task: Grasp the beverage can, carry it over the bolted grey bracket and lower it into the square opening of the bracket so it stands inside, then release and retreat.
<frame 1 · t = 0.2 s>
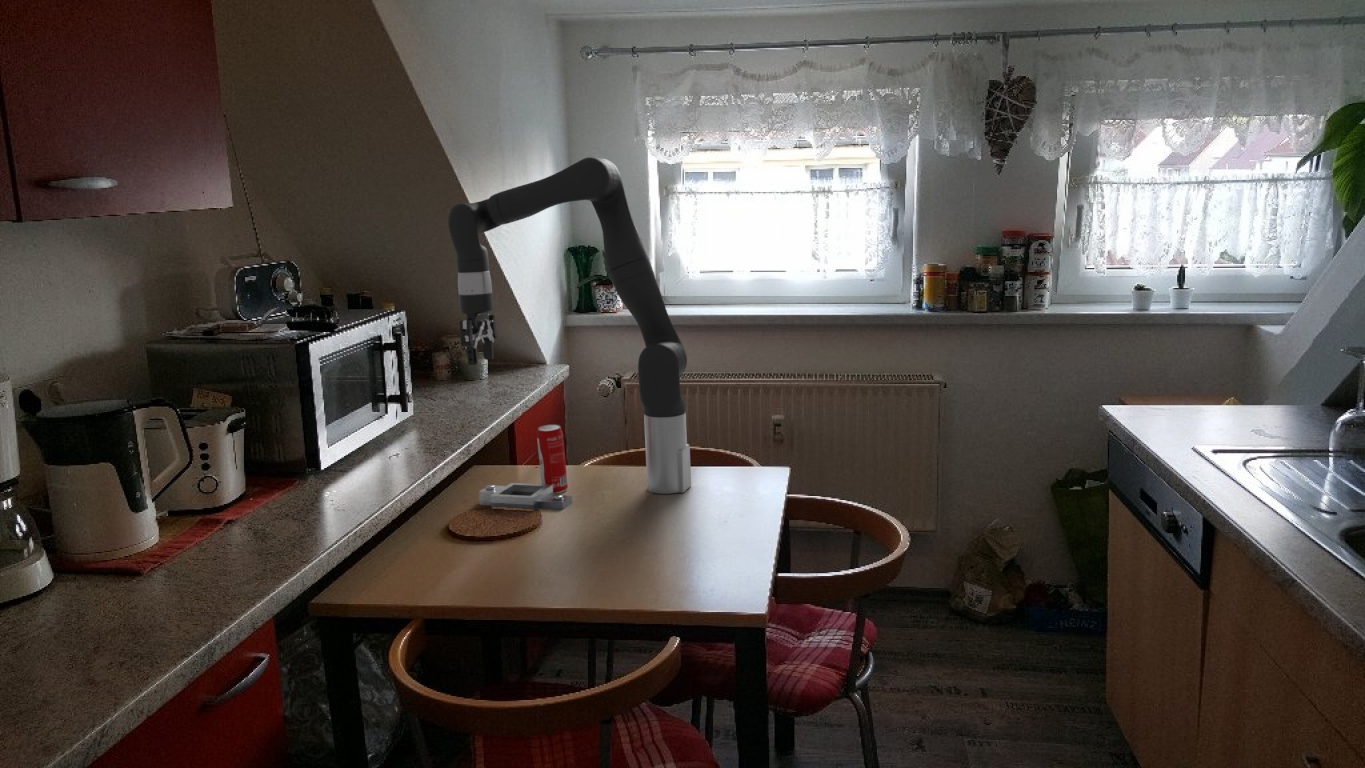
hand: (481, 361, 225), 28 cm above the table, fingers open, 8 cm apart
beverage can: (554, 492, 220), on the table
bolted grey bracket: (522, 503, 211), on the table
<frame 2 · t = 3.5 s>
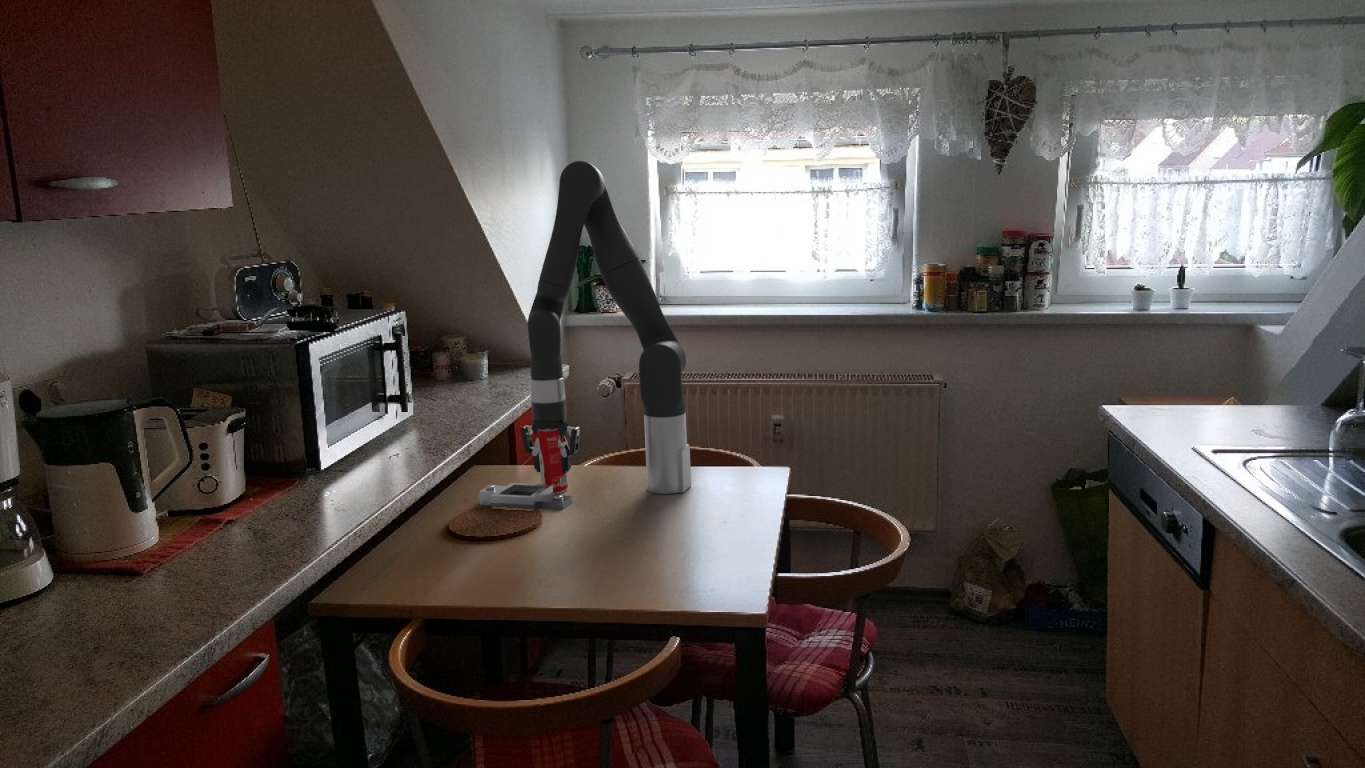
hand: (552, 471, 219), 5 cm above the table, fingers closed on beverage can, 5 cm apart
beverage can: (554, 492, 220), on the table, touching gripper
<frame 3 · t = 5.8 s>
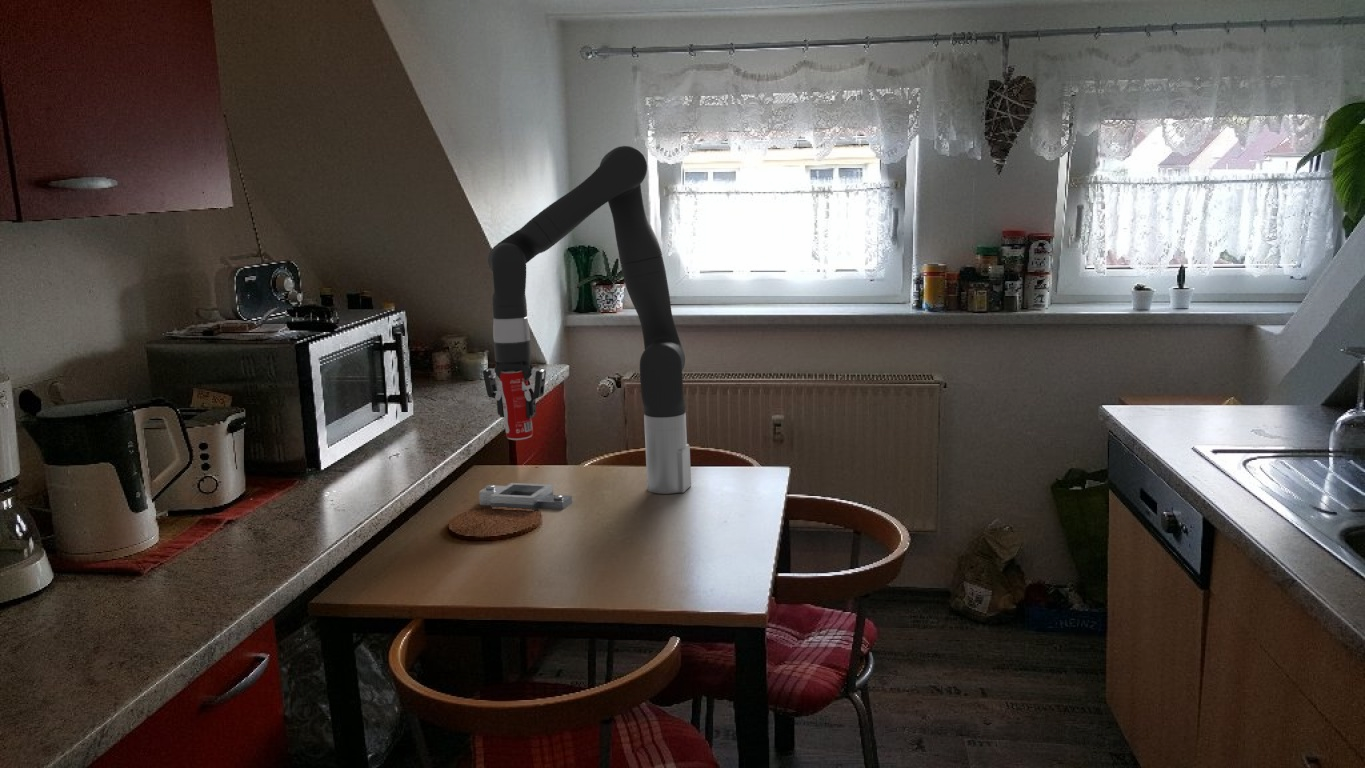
hand: (517, 416, 208), 19 cm above the table, fingers closed on beverage can, 5 cm apart
beverage can: (518, 438, 209), point 14 cm above the table, touching gripper
when the fingers open (6 cm above the table, at t = 8.0 s): beverage can drops 1 cm, resting in bolted grey bracket.
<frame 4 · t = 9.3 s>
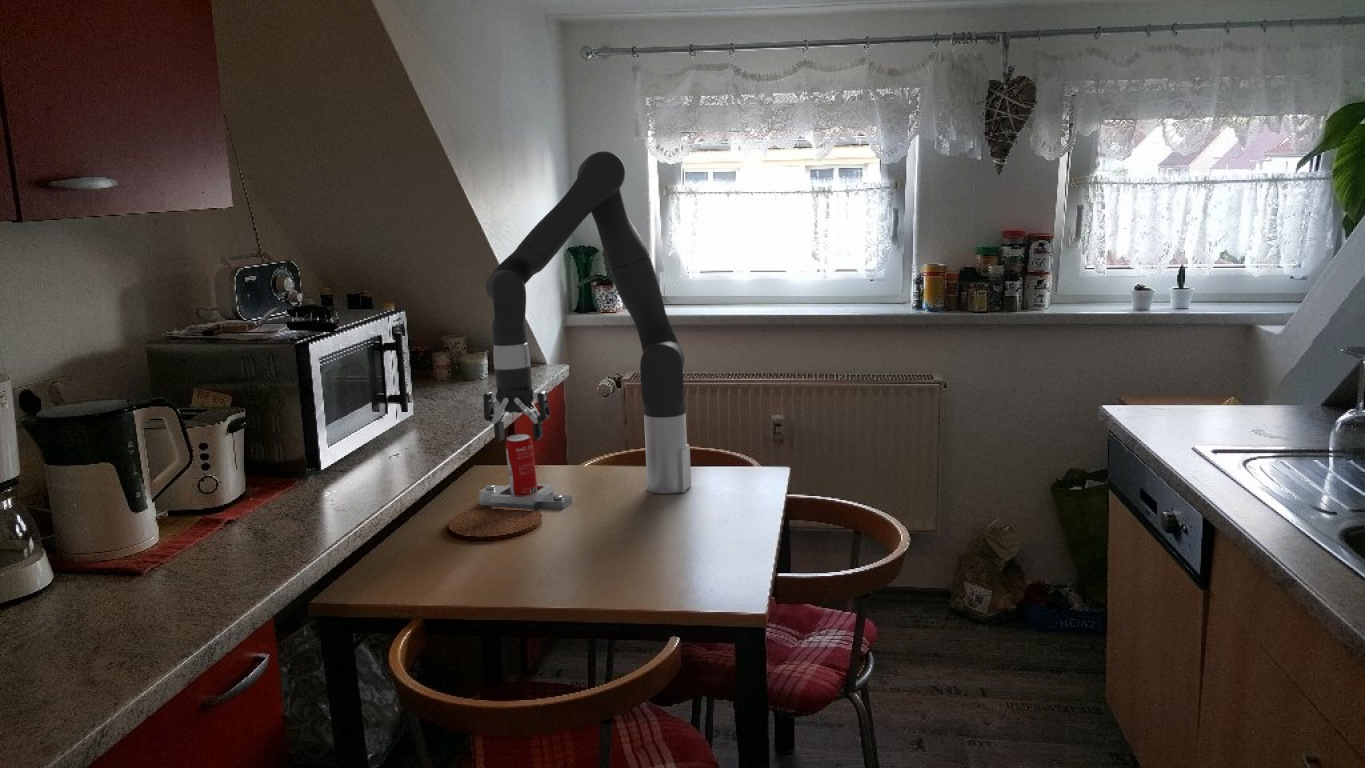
hand: (519, 439, 208), 14 cm above the table, fingers open, 8 cm apart
beverage can: (524, 504, 211), resting in bolted grey bracket
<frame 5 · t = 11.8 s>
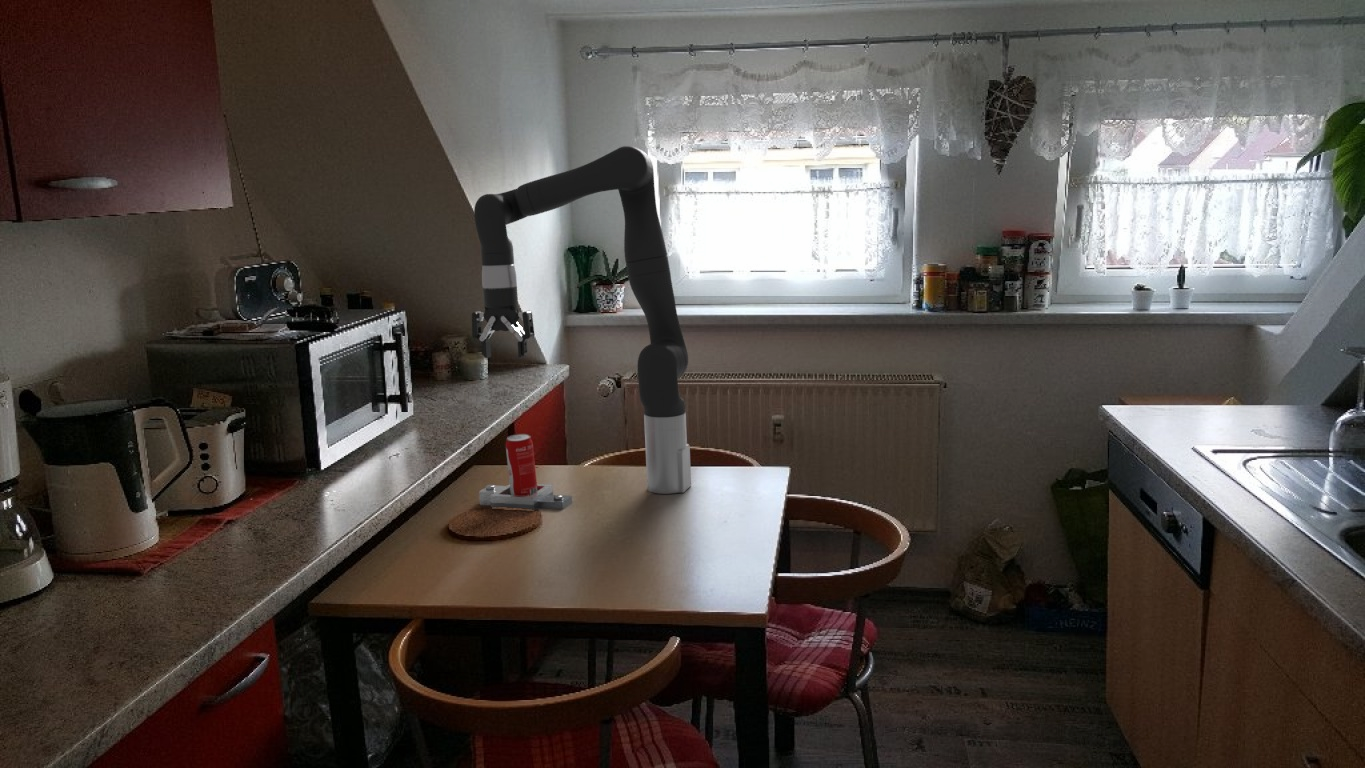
hand: (504, 357, 220), 30 cm above the table, fingers open, 8 cm apart
nothing on the table moved.
at the end: beverage can 0.3 cm off-centre on the bolted grey bracket, point 0.0 cm above the bolted grey bracket's base; beverage can tilted 0°; the gripper is holding nothing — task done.
